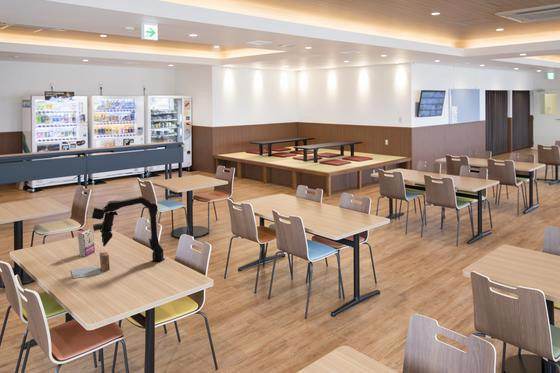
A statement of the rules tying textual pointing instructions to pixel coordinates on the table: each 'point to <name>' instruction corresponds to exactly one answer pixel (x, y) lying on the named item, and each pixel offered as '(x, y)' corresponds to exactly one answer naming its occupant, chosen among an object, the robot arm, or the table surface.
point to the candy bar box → (86, 243)
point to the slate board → (85, 272)
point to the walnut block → (104, 261)
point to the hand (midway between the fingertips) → (103, 244)
